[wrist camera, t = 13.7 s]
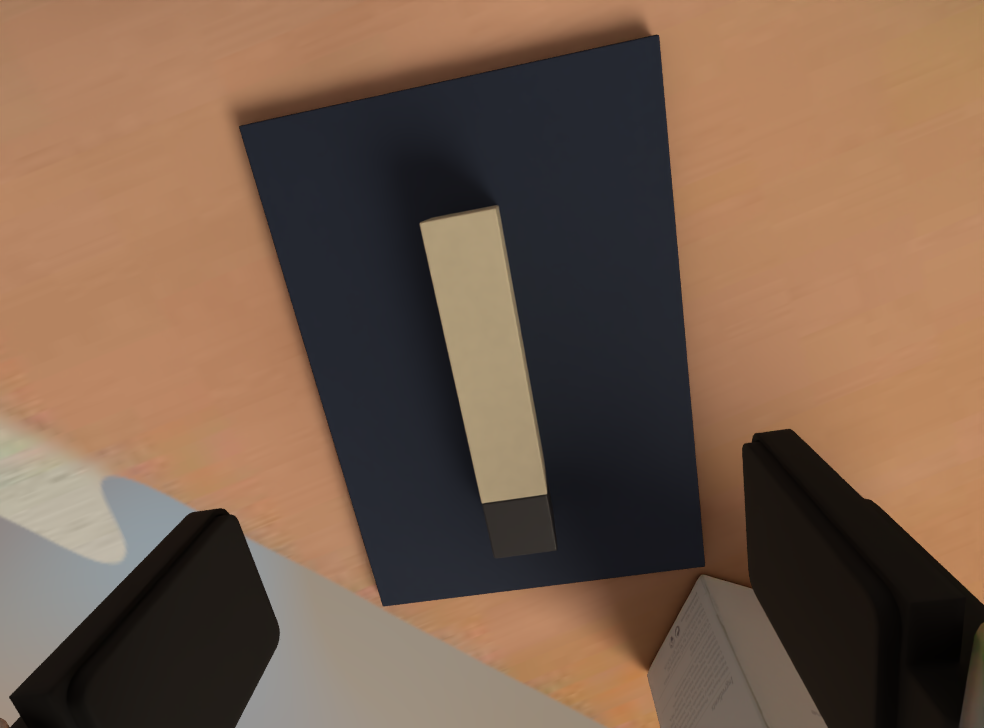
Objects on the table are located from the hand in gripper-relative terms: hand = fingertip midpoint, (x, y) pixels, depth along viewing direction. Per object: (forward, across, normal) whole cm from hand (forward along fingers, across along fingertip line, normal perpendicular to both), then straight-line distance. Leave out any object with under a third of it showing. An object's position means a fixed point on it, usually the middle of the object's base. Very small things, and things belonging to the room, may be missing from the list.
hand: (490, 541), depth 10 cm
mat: (+12, 0, +1) cm, 12 cm away
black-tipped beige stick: (+11, +1, +1) cm, 11 cm away
